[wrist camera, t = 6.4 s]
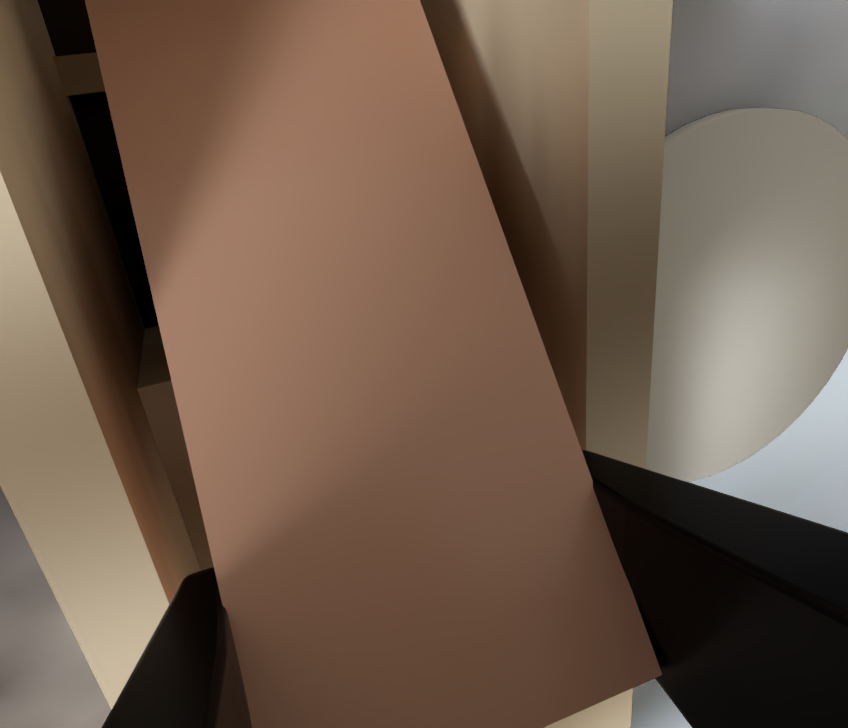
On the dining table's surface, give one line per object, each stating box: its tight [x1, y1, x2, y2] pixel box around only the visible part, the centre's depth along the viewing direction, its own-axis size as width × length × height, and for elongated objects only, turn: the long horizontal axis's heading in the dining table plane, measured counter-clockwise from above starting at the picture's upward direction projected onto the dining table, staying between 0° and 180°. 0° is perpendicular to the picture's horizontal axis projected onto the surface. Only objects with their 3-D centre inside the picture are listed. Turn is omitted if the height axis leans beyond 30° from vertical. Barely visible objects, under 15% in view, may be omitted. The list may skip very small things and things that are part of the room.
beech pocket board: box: [0, 0, 673, 728], centre depth 9 cm, size 16×8×5 cm, turn 6°
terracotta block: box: [85, 0, 662, 728], centre depth 8 cm, size 9×4×2 cm
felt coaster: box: [646, 108, 848, 482], centre depth 15 cm, size 9×9×1 cm
